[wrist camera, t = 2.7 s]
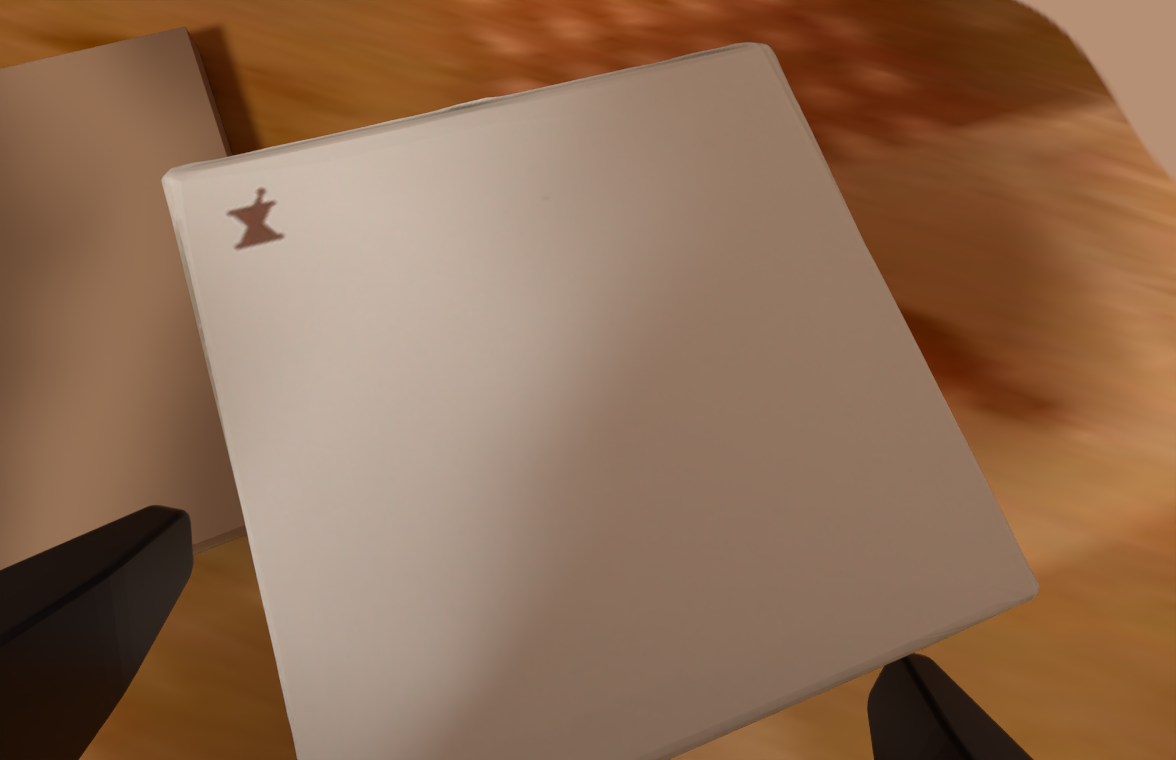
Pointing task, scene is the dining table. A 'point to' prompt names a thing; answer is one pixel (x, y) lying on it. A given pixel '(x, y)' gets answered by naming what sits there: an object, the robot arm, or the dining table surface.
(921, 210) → the dining table surface
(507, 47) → the dining table surface
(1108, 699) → the dining table surface
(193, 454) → the walnut board
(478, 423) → the supplement box
